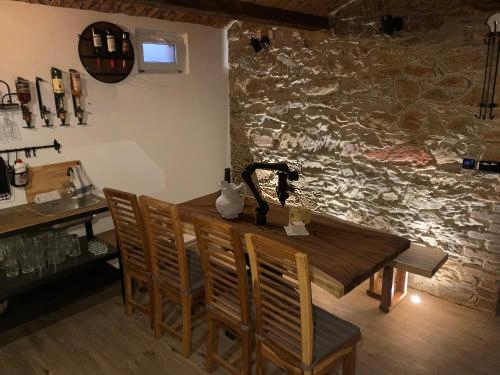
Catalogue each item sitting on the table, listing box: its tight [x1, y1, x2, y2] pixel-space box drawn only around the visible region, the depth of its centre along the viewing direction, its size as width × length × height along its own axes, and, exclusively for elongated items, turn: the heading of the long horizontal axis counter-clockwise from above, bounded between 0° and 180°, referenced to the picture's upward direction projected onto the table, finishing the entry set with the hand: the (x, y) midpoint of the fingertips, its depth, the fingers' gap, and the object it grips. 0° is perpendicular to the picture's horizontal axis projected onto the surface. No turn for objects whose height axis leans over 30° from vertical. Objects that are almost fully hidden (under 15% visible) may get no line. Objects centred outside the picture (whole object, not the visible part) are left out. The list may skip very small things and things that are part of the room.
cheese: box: [288, 205, 312, 226], centre depth 257 cm, size 10×11×10 cm
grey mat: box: [283, 225, 310, 237], centre depth 243 cm, size 13×14×1 cm
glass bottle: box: [215, 167, 240, 201], centre depth 291 cm, size 18×18×28 cm
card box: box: [288, 221, 306, 232], centre depth 243 cm, size 8×6×5 cm, turn 105°
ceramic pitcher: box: [215, 179, 248, 220], centre depth 267 cm, size 22×20×25 cm
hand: (281, 204), depth 256 cm, fingers open, 9 cm apart
